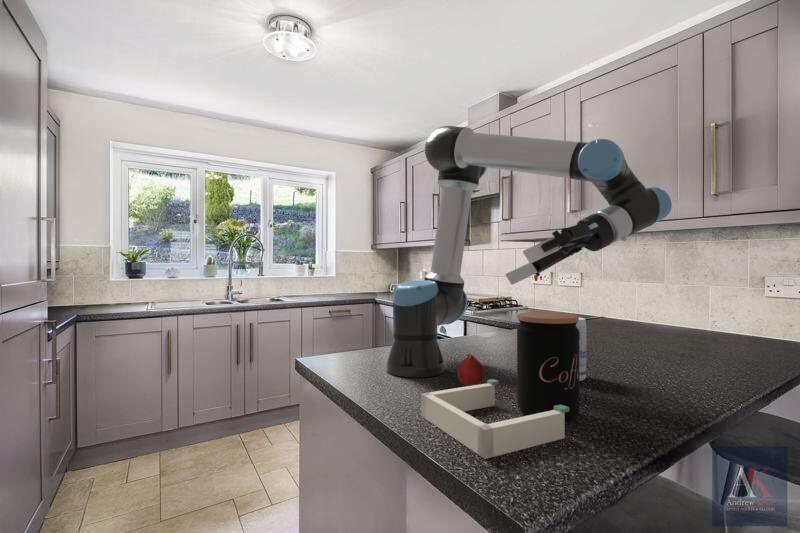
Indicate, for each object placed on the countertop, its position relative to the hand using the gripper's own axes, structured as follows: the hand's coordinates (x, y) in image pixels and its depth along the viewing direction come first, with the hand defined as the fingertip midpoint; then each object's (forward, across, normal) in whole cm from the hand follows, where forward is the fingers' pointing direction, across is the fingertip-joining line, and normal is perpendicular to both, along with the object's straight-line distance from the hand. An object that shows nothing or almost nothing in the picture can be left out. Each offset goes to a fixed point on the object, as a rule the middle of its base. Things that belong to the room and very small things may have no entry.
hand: (516, 269), depth 81 cm
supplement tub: (-6, +24, -25) cm, 35 cm away
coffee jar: (+10, 0, -27) cm, 28 cm away
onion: (+18, +14, -17) cm, 29 cm away
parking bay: (+21, -5, -23) cm, 32 cm away
